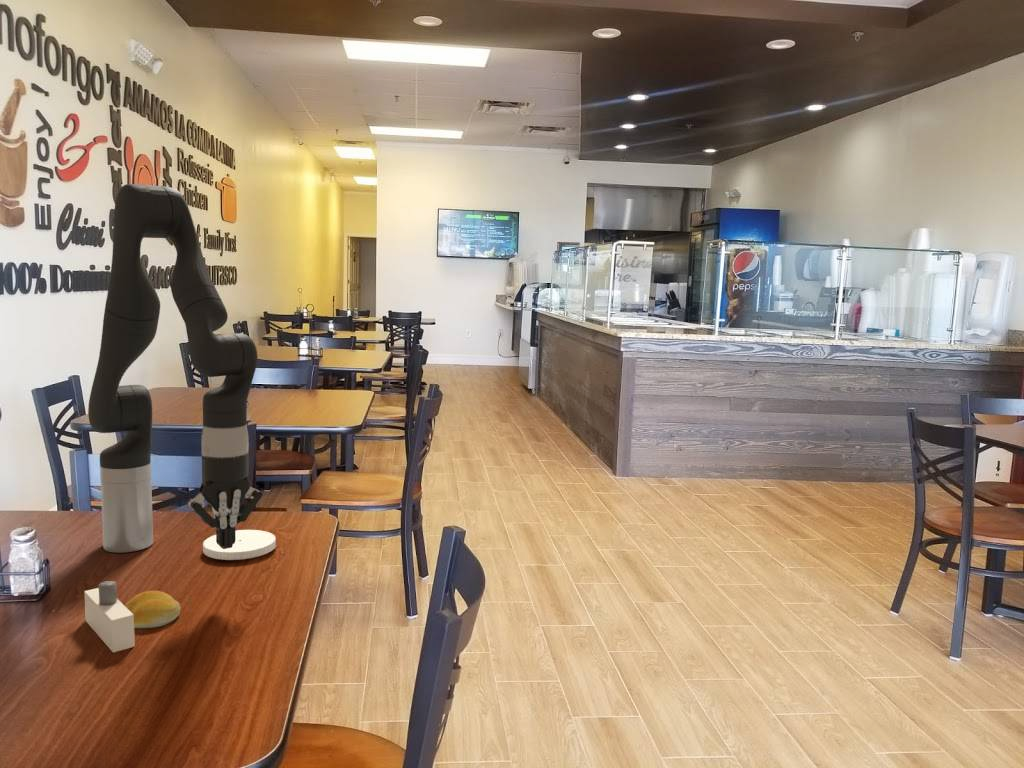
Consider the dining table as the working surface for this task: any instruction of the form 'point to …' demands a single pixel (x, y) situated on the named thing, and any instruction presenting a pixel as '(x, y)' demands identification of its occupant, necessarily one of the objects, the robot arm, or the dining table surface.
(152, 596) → the bread roll
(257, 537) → the plastic lid
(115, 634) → the bench stop
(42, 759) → the dining table surface
